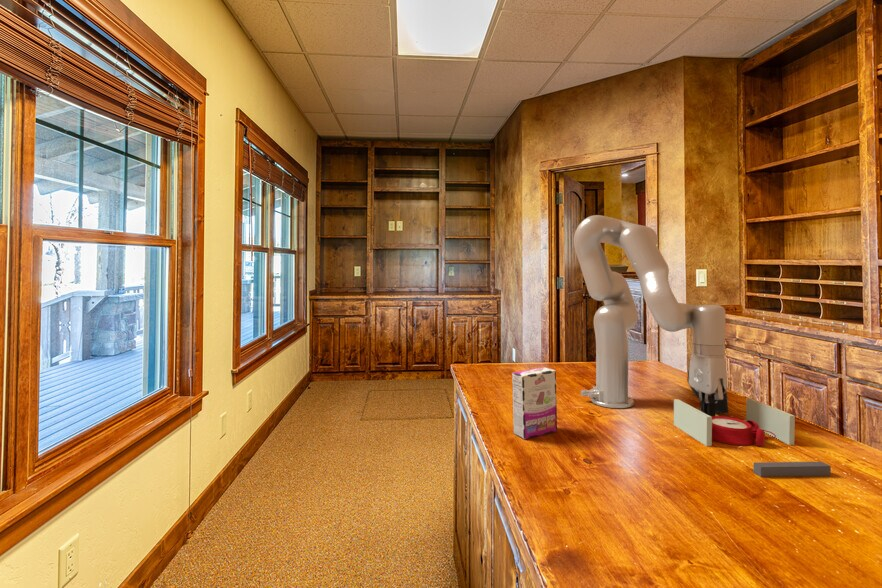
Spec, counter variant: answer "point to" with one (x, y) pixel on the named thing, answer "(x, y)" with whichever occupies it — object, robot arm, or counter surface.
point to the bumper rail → (791, 469)
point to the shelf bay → (756, 411)
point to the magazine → (721, 404)
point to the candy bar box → (534, 402)
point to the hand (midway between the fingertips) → (707, 415)
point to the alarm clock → (737, 431)
